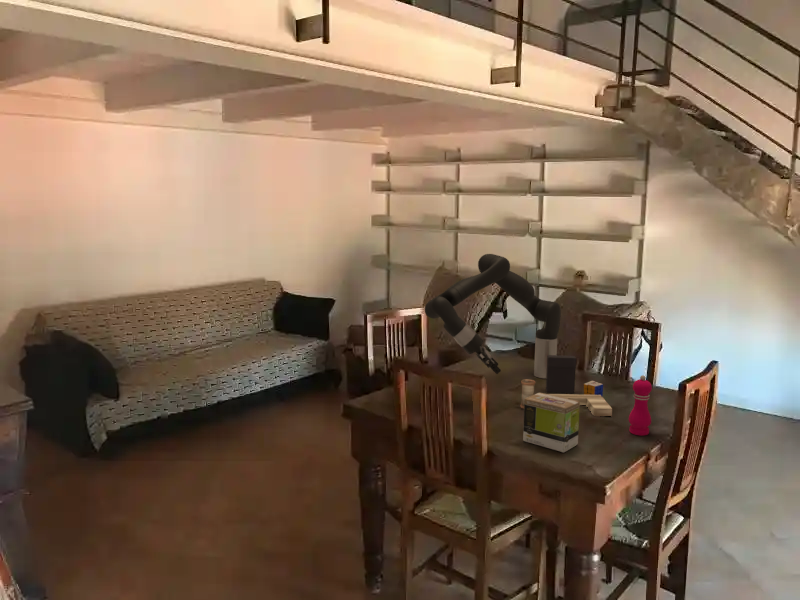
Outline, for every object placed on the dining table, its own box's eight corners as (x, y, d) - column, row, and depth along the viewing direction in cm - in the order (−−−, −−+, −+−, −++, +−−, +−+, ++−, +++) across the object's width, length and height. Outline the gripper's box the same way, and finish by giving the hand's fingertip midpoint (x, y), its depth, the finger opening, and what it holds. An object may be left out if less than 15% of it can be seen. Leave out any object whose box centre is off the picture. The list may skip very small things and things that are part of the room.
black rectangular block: (572, 391, 269) (574, 355, 266) (574, 394, 265) (576, 358, 262) (545, 390, 270) (547, 354, 267) (546, 393, 266) (548, 357, 263)
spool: (519, 404, 252) (520, 379, 250) (533, 404, 252) (534, 379, 250) (521, 409, 247) (522, 383, 245) (535, 409, 246) (536, 383, 245)
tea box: (578, 444, 213) (581, 400, 211) (563, 453, 206) (565, 408, 203) (537, 433, 223) (539, 390, 221) (521, 441, 216) (523, 397, 213)
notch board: (547, 401, 256) (548, 393, 255) (600, 402, 255) (600, 394, 255) (556, 415, 240) (556, 407, 239) (611, 416, 239) (612, 408, 239)
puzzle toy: (592, 393, 266) (592, 380, 265) (602, 397, 262) (603, 383, 261) (583, 396, 262) (583, 382, 261) (593, 399, 258) (594, 385, 257)
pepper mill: (632, 426, 229) (636, 371, 226) (653, 431, 225) (657, 375, 221) (624, 432, 224) (628, 375, 220) (645, 437, 219) (650, 379, 216)
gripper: (476, 336, 238) (507, 367, 240) (473, 327, 252) (503, 357, 254) (461, 350, 239) (492, 381, 241) (459, 341, 253) (488, 370, 255)
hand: (497, 369), depth 247 cm, fingers open, 8 cm apart
